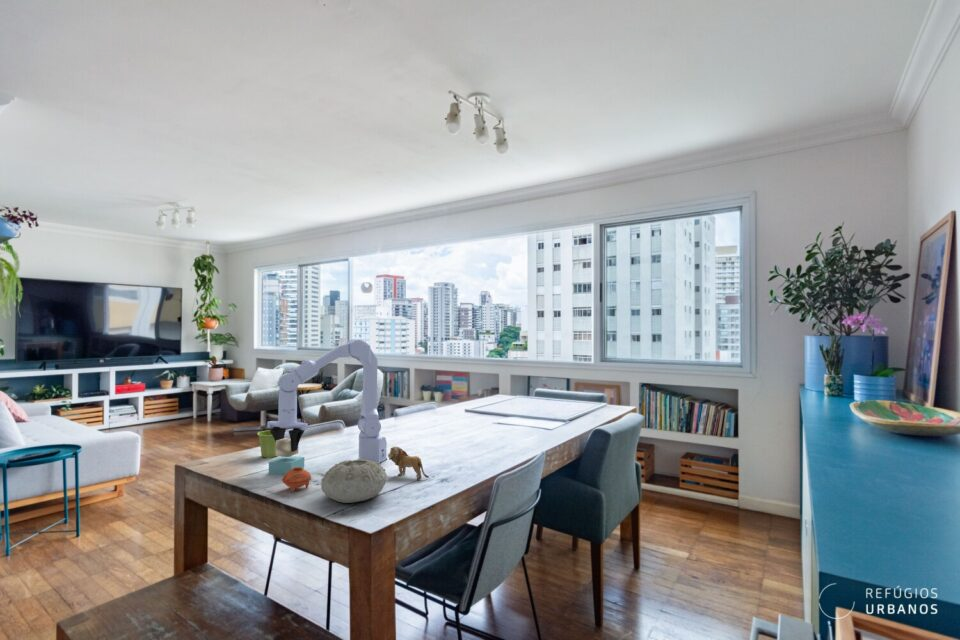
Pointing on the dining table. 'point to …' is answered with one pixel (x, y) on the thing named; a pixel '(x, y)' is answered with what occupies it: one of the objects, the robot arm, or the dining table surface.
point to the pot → (296, 478)
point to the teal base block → (285, 464)
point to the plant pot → (267, 444)
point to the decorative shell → (354, 480)
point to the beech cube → (284, 448)
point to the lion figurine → (406, 461)
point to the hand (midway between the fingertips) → (287, 450)
